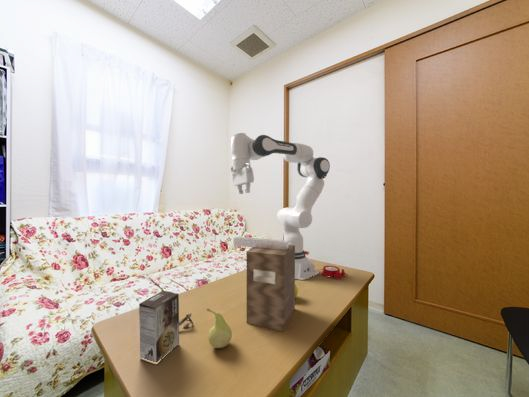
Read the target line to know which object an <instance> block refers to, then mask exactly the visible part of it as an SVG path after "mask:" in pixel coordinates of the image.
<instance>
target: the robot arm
mask: <svg viewBox="0 0 529 397" xmlns="http://www.w3.org/2000/svg"><path fill="white" fill-rule="evenodd" d="M230 149H231V150H230V151H231V155H232V161H231V162H232V166H231V168H230V171H231V172H230V173H232V182H233V185H234V187H237V190H238V195H242V194H244V190H245V194H249V193H251V191H250V190H251V184H252V183H254V181H255V176H254V171H253V170H254V169H253V168H252V166H251V161H258V160H260V159H261V158H262V159H263V158H265V157H267V156H268V157H269V156H270V155H272V154H278V155H282V158H283V159H284V161H285V162H288V163H293V164H294V163H296V164H297V167H296V168H297V173H298V174H299V176H300V177H303V178H307V180H306V182H305V183H304V185H303V187H302V188H301V189H300V190H299V192H298V194H296V198H295V199H296V204H295V206H294V207H290V206H289V207H288V206H287V207H284V208H280V209H279V210H278V211H277V215H276V218H277V221H278V222H279V224H280V227H281V230H282V234H283V240H284V241H289V242H288V245H295V280H300V281H305V280H308V279H311V278H313V277H315V275H316V276H318V275H320V273H319V271H318V270H317V269H315V263H314V262H313V261H312V260H311V259H309V258H308V257H307V256H309V254H310V252H309V251H307V250H304V236H303V235H302V233H301V231H300V229H305V228H308V227H310V226H311V224H312V222H313V215H312V209H313V207H314V205H315V203H316V201H317V200H318V198H319V197H320V195H321V193H322V191H323V189H324V188H325V180H324V179H325V178H326V177H327V175H328V173H329V172H330V161H329V160H328V159H327V158H326V157H321V156H319V157H315V158H314V149H313V148H312V147H311V146H309V145H307V144H304V143H298V142H297V143H296V142H289V141H283V140H277V139H274V138H272V137H271V136H269V135H266V134H261V135H259V136H257V137H256V138H255V139H253V138H251V137H250V136H248V135H247V133H246V132H240V133H235V134H234V135H233V136H232V137H231V140H230ZM243 186H245V189H243ZM306 255H307V256H306ZM317 274H318V275H317ZM312 276H313V277H312ZM310 277H311V278H310Z"/></svg>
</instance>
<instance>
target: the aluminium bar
mask: <svg viewBox="0 0 529 397" xmlns="http://www.w3.org/2000/svg"><path fill="white" fill-rule="evenodd" d="M288 242H289V241H284V239H283V240H282V239H280V240H279V239H269V238H255V237H243V236H236V237H233V247H234V246H235V247H246V248H265V249H275V250H288Z"/></svg>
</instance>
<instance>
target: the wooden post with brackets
mask: <svg viewBox="0 0 529 397" xmlns="http://www.w3.org/2000/svg"><path fill="white" fill-rule="evenodd" d="M191 317H192V313H191V312H190V313H188V314H186V315H185V317H183V318H182V319H181V320H180V319H179V327H180V326H182V325H183V324H184V323H185V322H186V324H184V325H183V327H182V328H184V329H187V328H188V327H189V325H190V324H191V325H194V321H193V320H192V319H191ZM187 322H188V323H187Z"/></svg>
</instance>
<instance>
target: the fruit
mask: <svg viewBox="0 0 529 397" xmlns="http://www.w3.org/2000/svg"><path fill="white" fill-rule="evenodd" d="M206 311H207V312H210V313H213V314H214V315H215V316H214V317H215V318H214V319H215V320H214V324H213V325H212V327H211V328H210V329H209V332H208V337H207V338H208V342H209V344H210V345H211V347H212V348H215V349H222V348H225V347H227V346H228V345H229V343H230V342H231V341H232V336H233V334H232V333H233V332H232V329H231V327H230V325H229V324H228V323H227V321H226V320H225V318H224V317H223V315H222V313H220V312H215V311H214V310H212V309H210V308H206Z"/></svg>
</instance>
